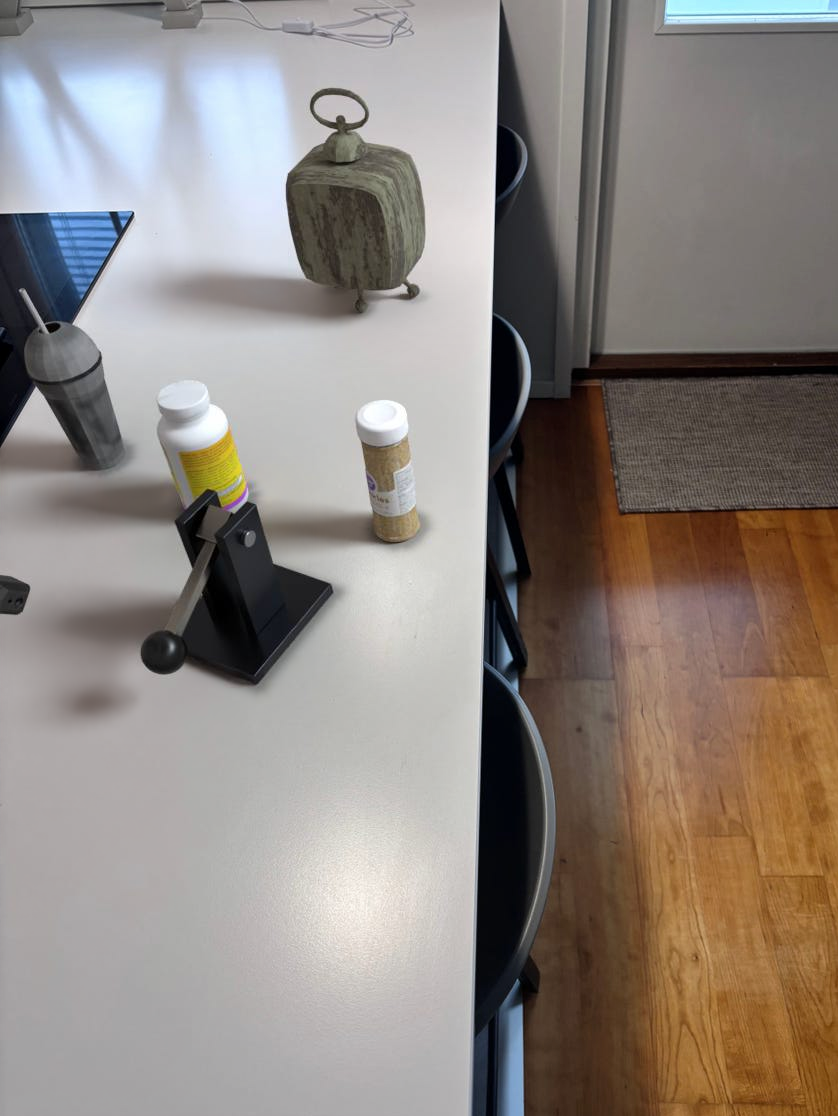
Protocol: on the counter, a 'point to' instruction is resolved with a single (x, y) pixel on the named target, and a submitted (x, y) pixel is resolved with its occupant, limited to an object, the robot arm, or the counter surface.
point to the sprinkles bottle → (388, 469)
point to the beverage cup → (74, 389)
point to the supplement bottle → (199, 445)
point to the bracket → (245, 595)
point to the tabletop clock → (356, 210)
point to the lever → (185, 602)
